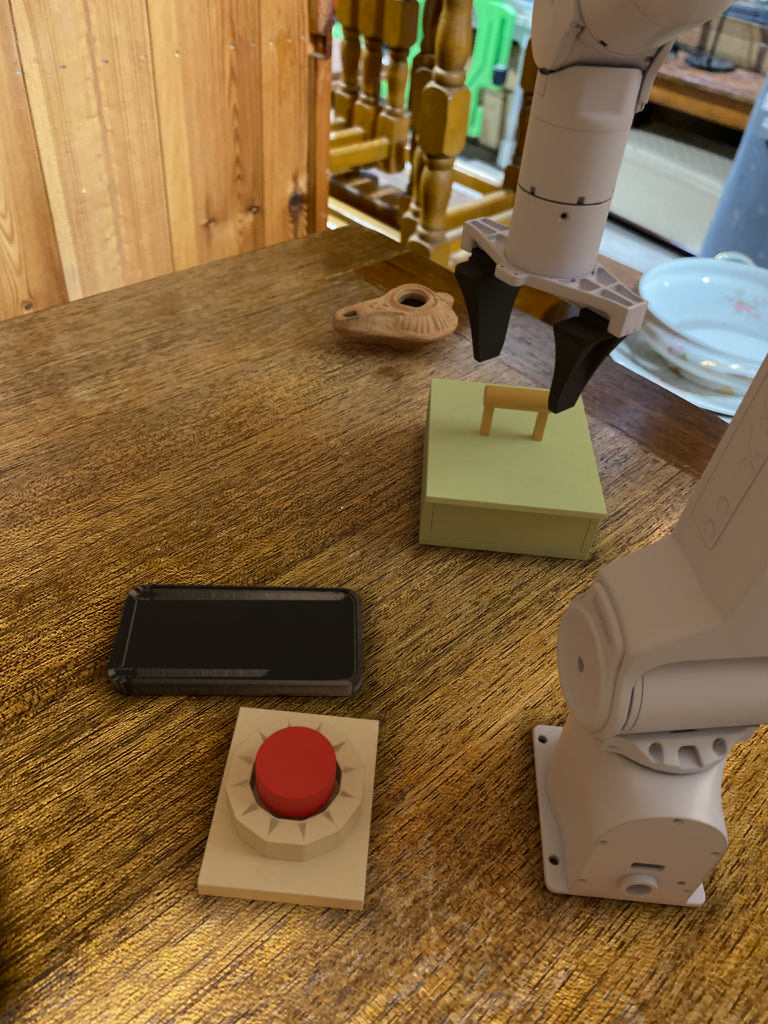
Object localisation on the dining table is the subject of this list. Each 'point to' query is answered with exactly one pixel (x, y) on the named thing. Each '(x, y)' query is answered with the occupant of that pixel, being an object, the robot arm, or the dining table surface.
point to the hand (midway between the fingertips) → (522, 381)
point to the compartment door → (510, 451)
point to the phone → (238, 641)
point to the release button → (295, 771)
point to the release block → (293, 821)
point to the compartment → (502, 527)
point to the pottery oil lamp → (399, 318)
